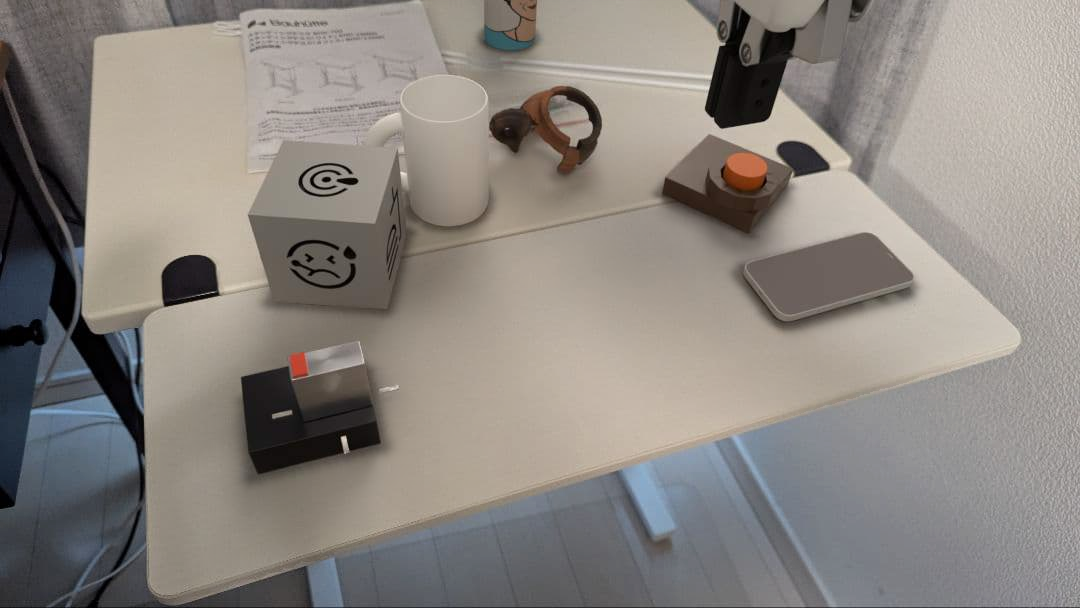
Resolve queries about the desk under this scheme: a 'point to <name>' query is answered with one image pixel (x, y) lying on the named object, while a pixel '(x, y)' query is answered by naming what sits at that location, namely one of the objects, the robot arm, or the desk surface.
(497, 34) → the cup
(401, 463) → the desk surface
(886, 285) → the smartphone
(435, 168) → the mug
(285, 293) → the icon cube
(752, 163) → the power button
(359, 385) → the red-banded grey bar
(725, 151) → the control block
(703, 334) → the desk surface
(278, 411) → the switch panel
